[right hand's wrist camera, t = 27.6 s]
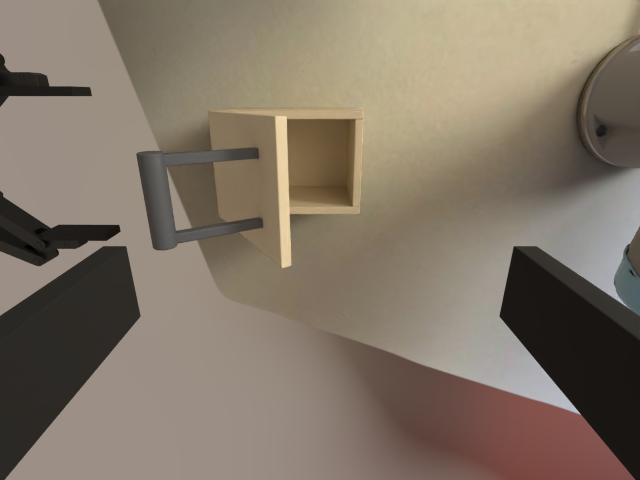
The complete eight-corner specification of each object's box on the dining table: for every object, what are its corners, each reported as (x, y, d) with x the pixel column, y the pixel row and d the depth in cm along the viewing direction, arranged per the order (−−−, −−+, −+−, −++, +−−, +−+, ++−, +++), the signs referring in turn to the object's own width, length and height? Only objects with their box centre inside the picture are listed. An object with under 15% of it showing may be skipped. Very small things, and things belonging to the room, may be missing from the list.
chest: (353, 108, 44) (363, 110, 34) (351, 190, 48) (359, 214, 38) (237, 108, 44) (213, 110, 34) (243, 190, 48) (223, 214, 38)
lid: (286, 115, 22) (136, 119, 18) (291, 266, 26) (167, 297, 22) (216, 110, 34) (115, 112, 30) (226, 215, 38) (137, 229, 34)
